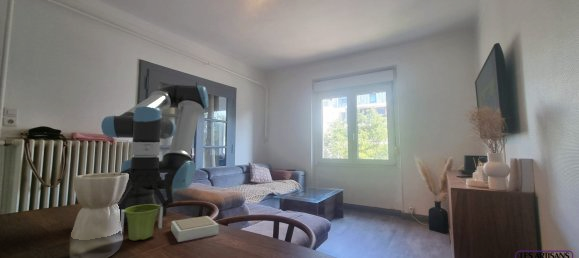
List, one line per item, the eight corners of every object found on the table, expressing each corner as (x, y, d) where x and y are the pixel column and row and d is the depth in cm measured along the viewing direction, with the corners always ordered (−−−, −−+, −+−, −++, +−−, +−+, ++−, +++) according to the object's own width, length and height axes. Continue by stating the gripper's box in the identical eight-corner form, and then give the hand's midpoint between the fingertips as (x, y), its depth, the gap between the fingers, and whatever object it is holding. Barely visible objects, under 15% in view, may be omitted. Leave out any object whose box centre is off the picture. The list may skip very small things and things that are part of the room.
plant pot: (165, 233, 76) (166, 205, 77) (139, 245, 67) (141, 213, 67) (142, 230, 78) (143, 203, 79) (114, 241, 69) (116, 210, 70)
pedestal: (171, 230, 80) (171, 220, 80) (207, 224, 87) (207, 215, 87) (178, 242, 70) (178, 230, 70) (218, 234, 77) (218, 223, 77)
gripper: (100, 157, 65) (93, 242, 63) (185, 156, 78) (182, 226, 76) (101, 156, 71) (96, 233, 69) (181, 155, 84) (177, 220, 82)
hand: (141, 229), depth 73 cm, fingers closed on plant pot, 9 cm apart
